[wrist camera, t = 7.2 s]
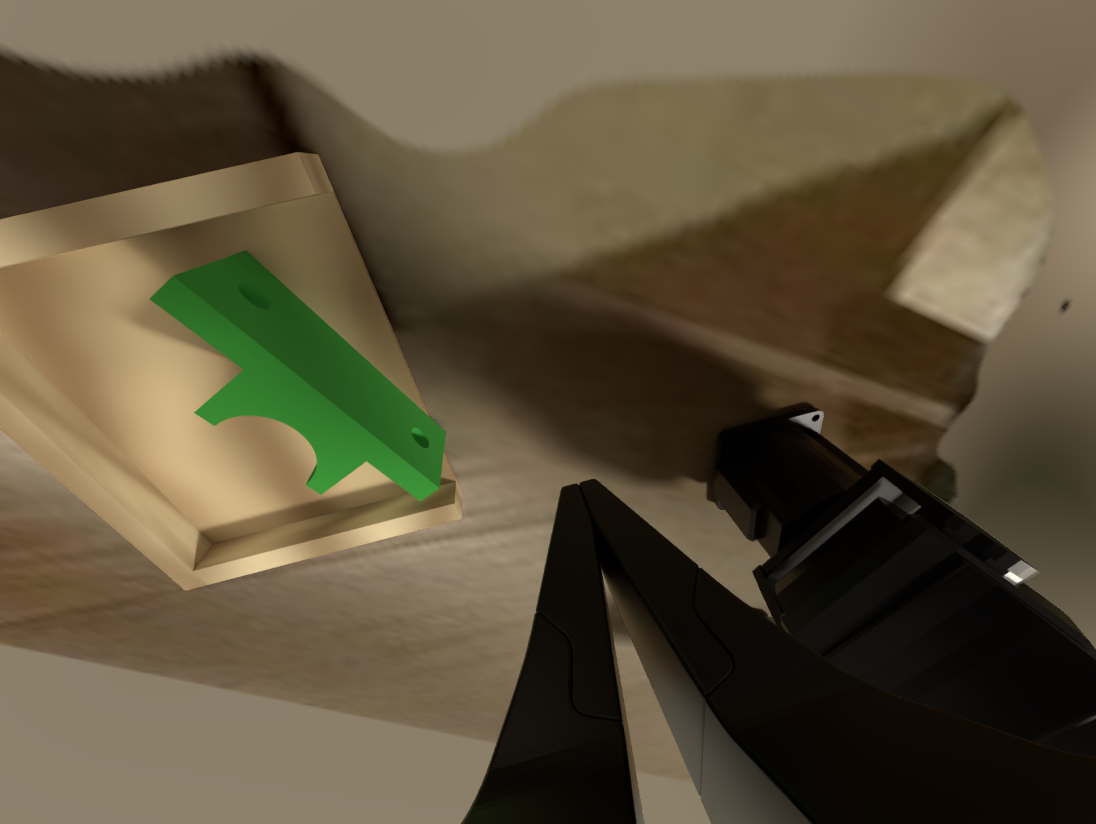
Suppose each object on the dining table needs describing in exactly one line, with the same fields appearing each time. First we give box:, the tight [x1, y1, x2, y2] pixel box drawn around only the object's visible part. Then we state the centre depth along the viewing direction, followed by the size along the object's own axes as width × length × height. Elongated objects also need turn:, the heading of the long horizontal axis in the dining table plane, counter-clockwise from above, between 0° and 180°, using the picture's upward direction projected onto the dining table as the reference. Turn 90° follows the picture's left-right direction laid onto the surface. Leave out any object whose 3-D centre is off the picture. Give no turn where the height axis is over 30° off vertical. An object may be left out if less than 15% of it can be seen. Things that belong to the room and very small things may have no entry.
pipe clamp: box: [149, 250, 446, 502], centre depth 17 cm, size 11×4×5 cm, turn 35°
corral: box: [0, 152, 463, 591], centre depth 18 cm, size 15×17×2 cm
